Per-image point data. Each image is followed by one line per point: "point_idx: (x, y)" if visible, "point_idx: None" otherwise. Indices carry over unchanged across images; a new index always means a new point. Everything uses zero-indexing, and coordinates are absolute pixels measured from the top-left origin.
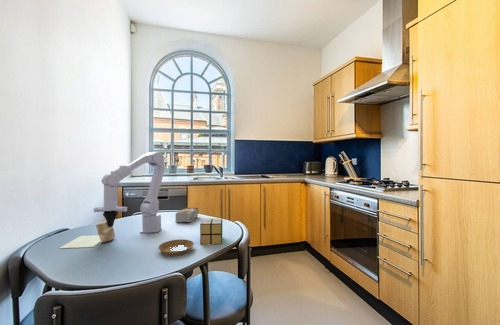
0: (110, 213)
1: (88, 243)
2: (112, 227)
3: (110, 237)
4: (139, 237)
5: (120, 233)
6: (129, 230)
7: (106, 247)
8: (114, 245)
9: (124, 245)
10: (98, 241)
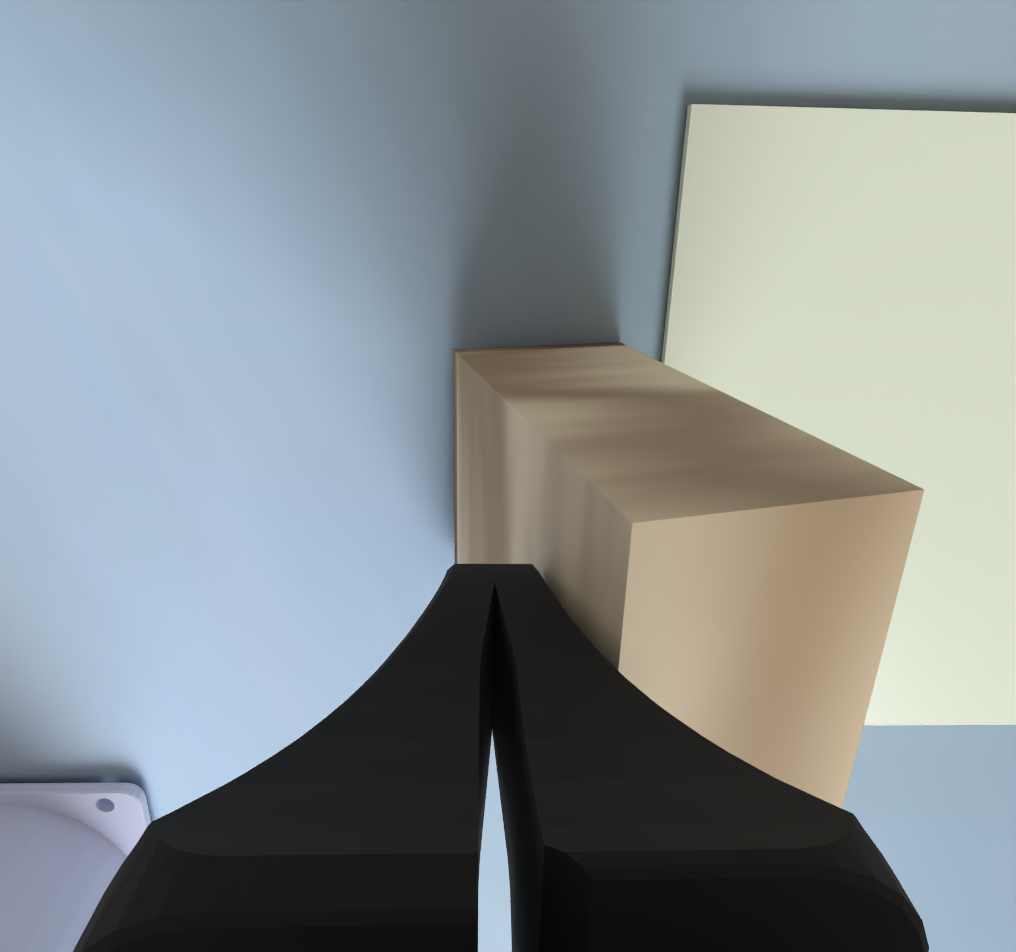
0: (314, 892)
1: (850, 320)
2: None
3: (465, 423)
4: (15, 573)
5: None
6: None
7: (396, 52)
8: (281, 163)
9: (55, 129)
10: None
